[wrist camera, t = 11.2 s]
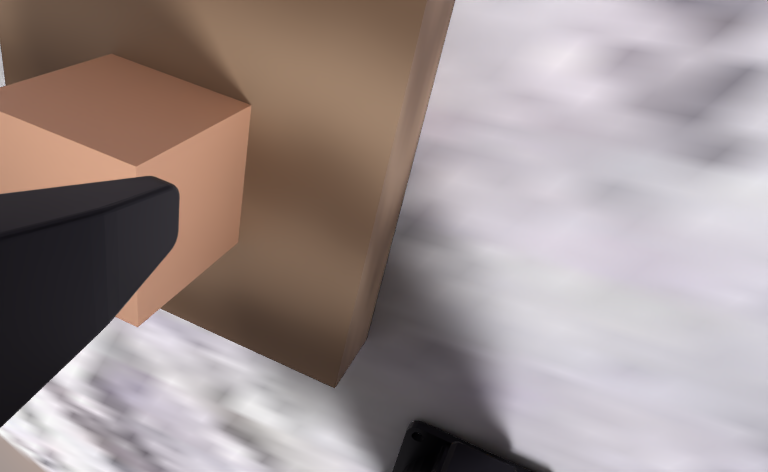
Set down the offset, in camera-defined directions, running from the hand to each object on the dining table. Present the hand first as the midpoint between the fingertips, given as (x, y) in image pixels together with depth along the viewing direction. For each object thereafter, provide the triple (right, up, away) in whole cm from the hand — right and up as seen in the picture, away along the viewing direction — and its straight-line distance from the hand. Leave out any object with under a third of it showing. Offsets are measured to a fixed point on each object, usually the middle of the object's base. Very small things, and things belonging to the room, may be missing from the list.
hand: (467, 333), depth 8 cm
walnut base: (-7, +5, +15) cm, 17 cm away
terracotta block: (-8, +4, +12) cm, 15 cm away
